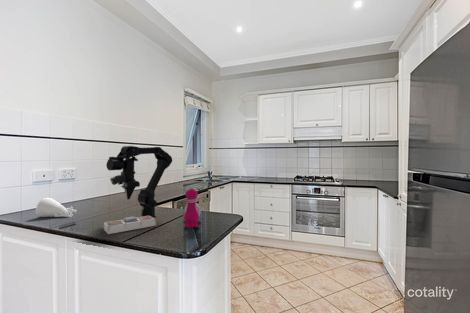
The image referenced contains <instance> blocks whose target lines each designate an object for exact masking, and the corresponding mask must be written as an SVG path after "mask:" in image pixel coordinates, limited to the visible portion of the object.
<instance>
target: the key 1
mask: <svg viewBox="0 0 470 313" xmlns="http://www.w3.org/2000/svg"><path fill="white" fill-rule="evenodd" d="M115 221H116V220H115ZM108 222H109V221H108ZM118 224H121V222H119V221H116V222H109V223H108V225H109V226H111V225H118Z"/></svg>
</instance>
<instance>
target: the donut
mask: <svg viewBox="0 0 470 313" xmlns="http://www.w3.org/2000/svg"><path fill="white" fill-rule="evenodd" d="M186 210H187V203H186V204H185V206H184V208H183V213H184V215H185V212H186ZM196 210H197V212H198V215H199V217H200V215H201V212H202V211H201V206H200V205H199V204H198V203H197V202H196Z"/></svg>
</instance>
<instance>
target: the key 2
mask: <svg viewBox="0 0 470 313" xmlns="http://www.w3.org/2000/svg"><path fill="white" fill-rule="evenodd" d="M149 219H151V218H150V217H142V218H139V220H141V221H142V220H149Z"/></svg>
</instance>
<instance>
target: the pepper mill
mask: <svg viewBox="0 0 470 313" xmlns="http://www.w3.org/2000/svg"><path fill="white" fill-rule="evenodd" d="M198 196H199V194H198V191H197V190H196V189H195V188H194V186H193V185H190V186H189V188H188V189H187V190H186V191H185V197H186V204H187V210H186V212H185V214H184V215H183V220H184V221H185V222H184V227H185V228H186V227H187V229H194V228H193V227H195V228H197V227H198V226H199V222H198V220H200V216H199V215H198V212H197V210H196V203H197V197H198Z"/></svg>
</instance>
